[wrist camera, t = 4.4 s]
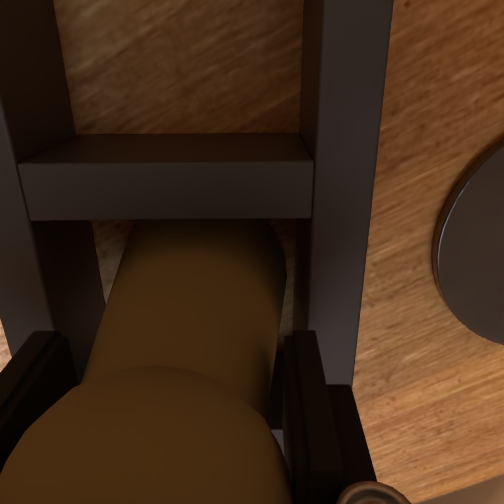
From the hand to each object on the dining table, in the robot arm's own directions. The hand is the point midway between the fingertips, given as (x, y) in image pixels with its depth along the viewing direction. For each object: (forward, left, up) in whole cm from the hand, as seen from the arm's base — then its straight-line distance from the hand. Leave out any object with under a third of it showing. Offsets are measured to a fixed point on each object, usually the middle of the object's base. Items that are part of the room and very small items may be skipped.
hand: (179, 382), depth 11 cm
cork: (0, 0, -6) cm, 6 cm away
